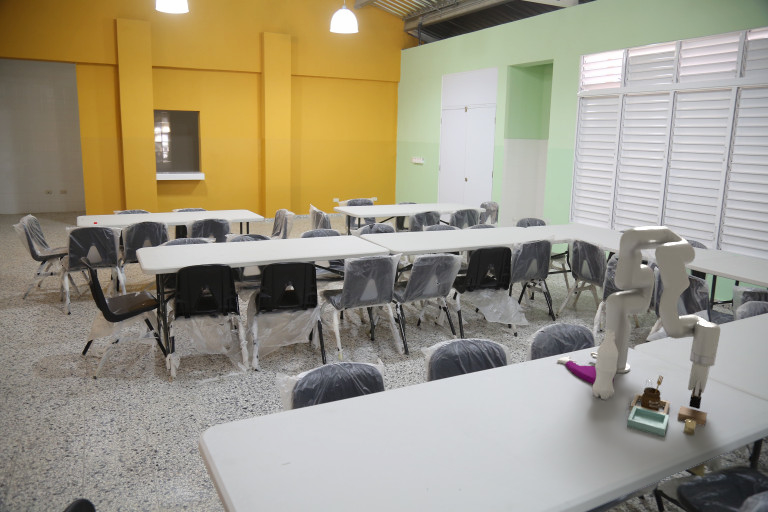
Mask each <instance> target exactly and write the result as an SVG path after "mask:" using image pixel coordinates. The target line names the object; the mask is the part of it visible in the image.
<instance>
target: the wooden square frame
mask: <svg viewBox="0 0 768 512" xmlns="http://www.w3.org/2000/svg"><path fill="white" fill-rule="evenodd" d="M642 395H643V394H641V393H635V396H634V398H633V400H632V402H631V405H630V409H629V410H630V412H631V411H632V409H633V407H634V406H636V407H640V408H643V409H647V410H651V411H655V412H659V413H662V414H666V415H668V413H667V412H669V409H670V405H671V401H668V400H664V399H661V400H660V407H663V406H664V407H663V408H664V409H663V411H656V410H652V409H648V408H644V407H641V405H640V406H639V405H637V404H638V402H641V399H642ZM639 400H640V401H639Z"/></svg>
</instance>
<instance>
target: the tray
mask: <svg viewBox="0 0 768 512" xmlns="http://www.w3.org/2000/svg"><path fill="white" fill-rule="evenodd" d="M640 407H641V406H640ZM640 407H636V406H634V407H633V409H632V411H630V414H629V416H628V419H627V423H626V426H627V427H628V428H633V429H636V430H639V431H642V432H646V433H649V434H653V435H657V436H661V437H665V434H666V431H667V427H668V423H669V418H670V415H669V414H667V415H666V414H662V413H659V412H660V411H659V412H655V411H651V410H647V409H643V408H640Z"/></svg>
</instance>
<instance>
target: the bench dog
mask: <svg viewBox="0 0 768 512" xmlns="http://www.w3.org/2000/svg"><path fill="white" fill-rule="evenodd" d="M696 426H697V424H696V422H695V421H694V420H692V419H686V421H685V423H684V429H683V433H685V434H686V435H689V436H694V435H695V432H696Z"/></svg>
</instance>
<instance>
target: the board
mask: <svg viewBox="0 0 768 512" xmlns="http://www.w3.org/2000/svg"><path fill="white" fill-rule="evenodd" d="M679 408H680V409H679V410H678V415H677V419H678V418H679V419H678V420H681V419H682V421H684V420H686V419H692V420H694V421H695V422H696V425H699V424H700V426H703V425H705V426H706V420H707V417H708V412H705V411H701V410H699V409H695V408H691V407H690V408H689V407H686V406H682V405H681V406H680V407H679Z"/></svg>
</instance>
